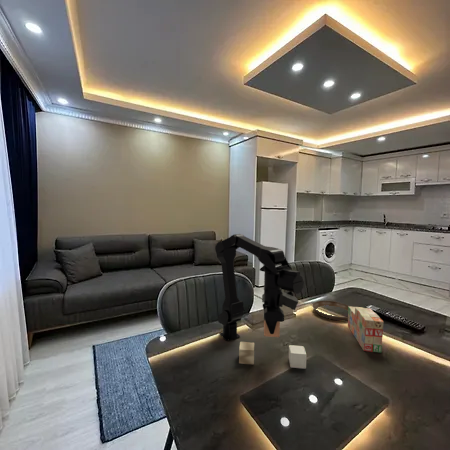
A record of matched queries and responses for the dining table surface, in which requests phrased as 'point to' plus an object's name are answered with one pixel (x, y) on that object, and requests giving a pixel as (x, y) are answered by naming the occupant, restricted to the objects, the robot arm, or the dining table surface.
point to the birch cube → (246, 353)
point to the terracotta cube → (276, 332)
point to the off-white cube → (297, 356)
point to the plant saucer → (330, 303)
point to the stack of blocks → (366, 328)
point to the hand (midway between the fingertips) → (271, 330)
